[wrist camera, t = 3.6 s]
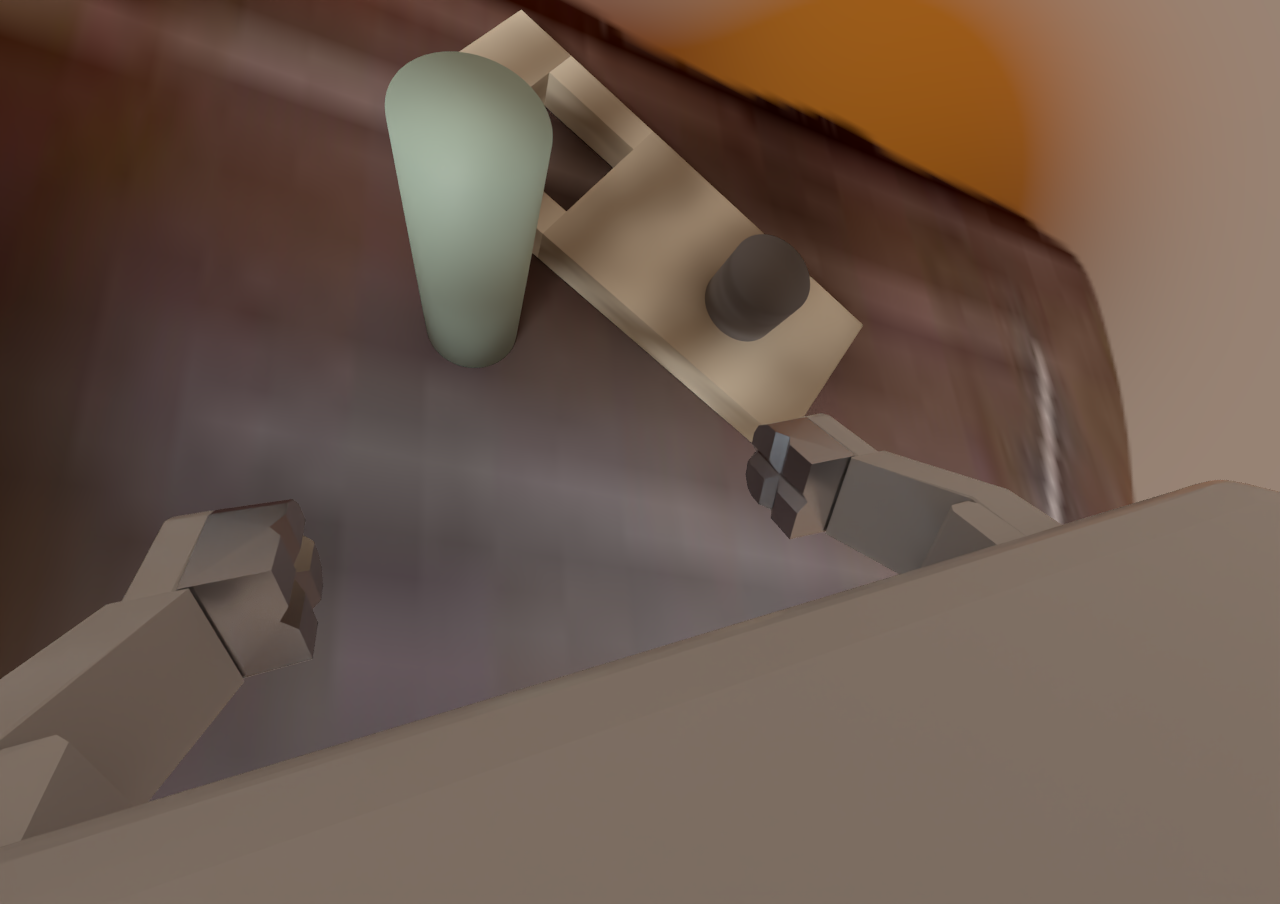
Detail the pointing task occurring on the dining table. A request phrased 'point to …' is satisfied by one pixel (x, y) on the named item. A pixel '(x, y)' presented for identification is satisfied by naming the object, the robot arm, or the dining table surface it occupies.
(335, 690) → the dining table surface
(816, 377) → the hole plate
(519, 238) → the peg
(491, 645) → the dining table surface
